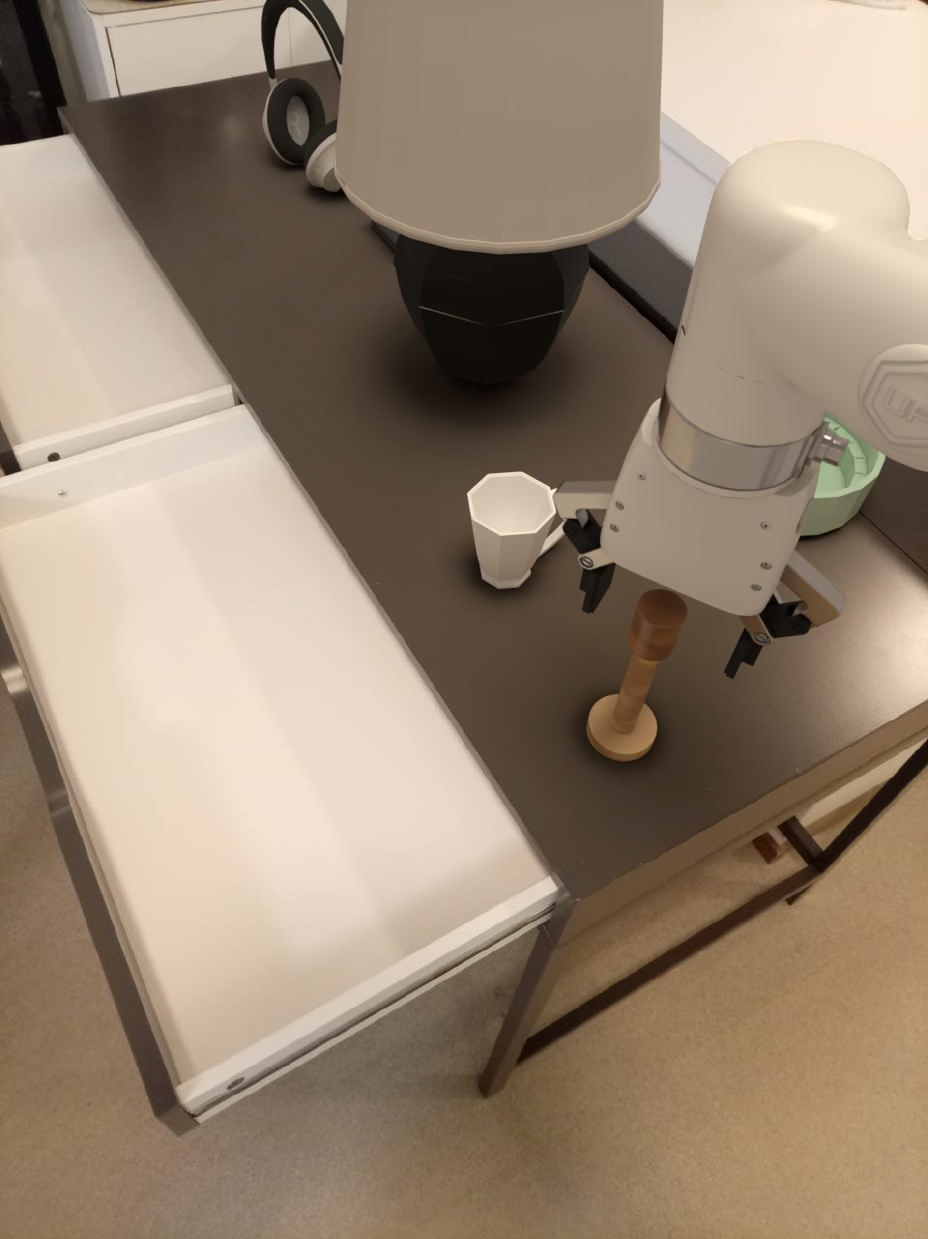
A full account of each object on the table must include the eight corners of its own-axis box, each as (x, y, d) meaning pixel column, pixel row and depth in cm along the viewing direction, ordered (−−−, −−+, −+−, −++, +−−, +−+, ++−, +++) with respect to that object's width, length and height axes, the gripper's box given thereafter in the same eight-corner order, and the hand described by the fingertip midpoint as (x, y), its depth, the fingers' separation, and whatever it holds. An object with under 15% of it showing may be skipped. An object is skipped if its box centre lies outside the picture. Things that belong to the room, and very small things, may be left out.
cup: (447, 556, 75) (448, 488, 69) (546, 514, 78) (557, 446, 72) (490, 614, 72) (495, 549, 65) (592, 568, 75) (607, 502, 68)
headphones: (252, 153, 114) (222, -31, 98) (308, 134, 117) (288, -46, 101) (334, 219, 106) (316, 29, 89) (392, 197, 109) (385, 10, 93)
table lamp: (485, 260, 101) (508, -212, 69) (673, 372, 90) (805, -127, 58) (296, 361, 90) (218, -148, 58) (486, 504, 79) (521, -27, 47)
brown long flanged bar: (665, 722, 66) (717, 598, 54) (635, 773, 64) (683, 655, 51) (605, 691, 68) (643, 563, 55) (574, 739, 65) (606, 617, 53)
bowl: (879, 460, 84) (903, 414, 79) (833, 567, 76) (858, 523, 71) (725, 403, 88) (741, 357, 83) (667, 499, 80) (680, 454, 75)
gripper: (932, 440, 43) (813, 644, 57) (605, 326, 48) (568, 539, 61) (894, 541, 39) (776, 733, 53) (542, 405, 44) (517, 613, 58)
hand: (664, 628), depth 57 cm, fingers open, 9 cm apart
